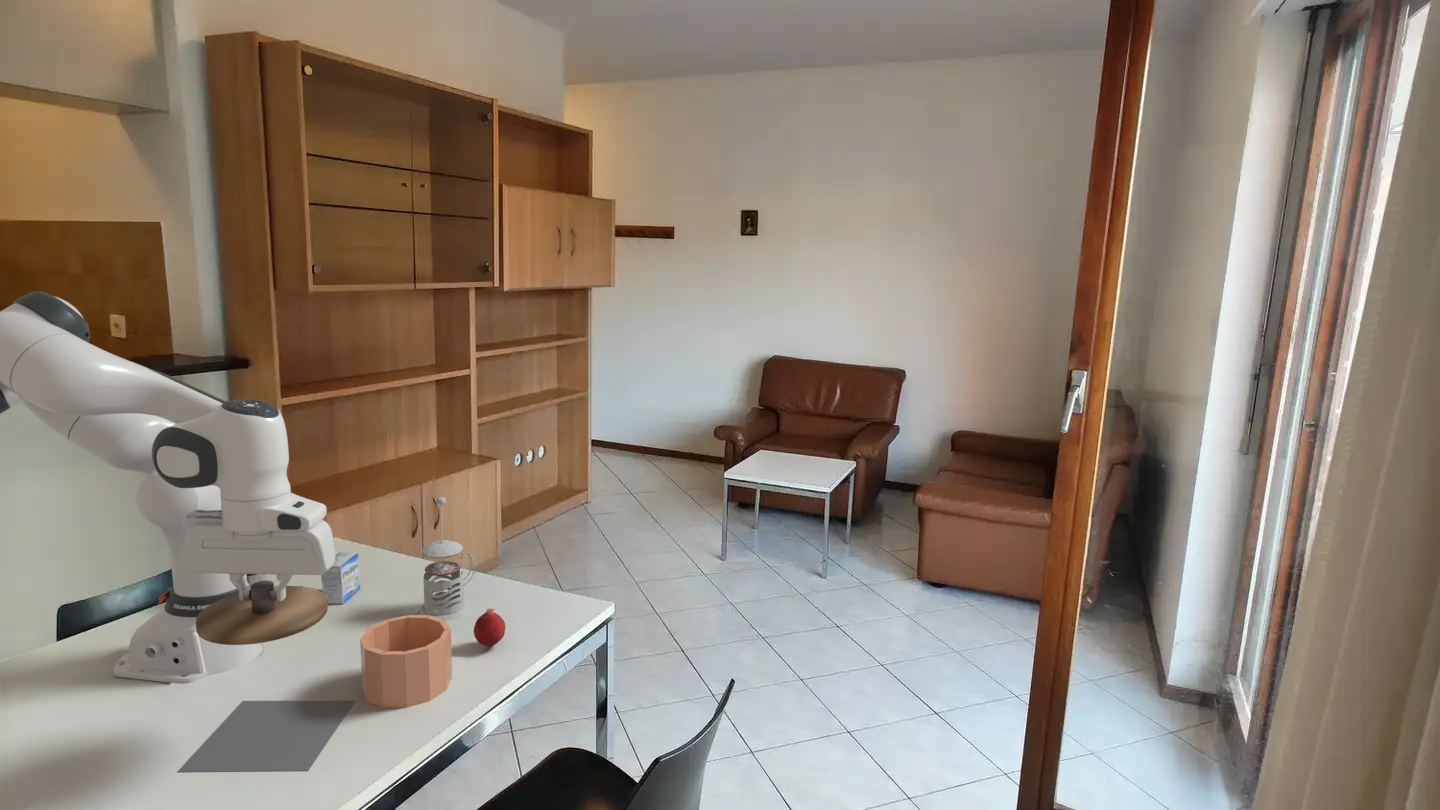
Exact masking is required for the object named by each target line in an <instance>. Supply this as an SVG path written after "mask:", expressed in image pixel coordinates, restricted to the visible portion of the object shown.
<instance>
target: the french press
mask: <svg viewBox="0 0 1440 810" xmlns="http://www.w3.org/2000/svg"><path fill="white" fill-rule="evenodd" d="M446 503H447V500H446V498H445V497H444V496H439V497H438V498H437V499H436V504H438V505H440V511H441V512H440V515H441V517H440V519H441V540H435V541H433V542H431V543H428V545H426V546H424V547H423V548H422V550H421V553H422V555H423V556H424V557H427V558H429V559H442V560H441V561H435V562H432V563H429V564H428V565H427V566H425V568H424V571H425V572H424V574H423V602H424V604H423V607H422V608H421V609H420V611H419V614H418V615H430V616H433V617H436V618H440V619H443V620H445V621H446V622H447V621H451V620H456V619H459V618H461V617H463V616H464V615H465V614H466V613H468V610H469V607H468V605H467V604H466V603H465V601H464V600H465V597H464V588H465V586H466V585H467V584H468V583H470V582H471V580H472V578H473V577H474V575H475V573H476V572H475V571H476V560H475V558H474V556H473V555H472V554H471V553H469V552H468V551H466V550H464V547H463V545H462V544H460V543H459V542H456V541H454V540H447V539H445V540H444V536H443V535H444V533H443V531H444V530H443V525H444V524H443V505H444V504H446ZM460 554H461V555H460ZM464 554H466V555H467V556H468V557H469V560H470V566H469V567H470V568H469V571H468V573H467V575H466V577H464V575H463V571H462V570H461V567H462V565H461V564H460V563H459V562H457V561H454V560H453V561H452V560H451V561H450V560H444V559H447V558H452V557H455V556H458V557H459V558H460V559H463V557H464ZM472 564H473V565H472ZM472 568H473V571H472ZM471 571H472V575H471V577H470V578H469V579H468V580H467V578H468V577H469V576H470V574H471ZM431 578H432V579H431ZM430 579H431V580H430ZM439 579H447V580H439ZM436 580H438V581H436ZM466 580H467V581H466ZM464 581H466V582H465V583H464ZM446 590H447V591H446ZM434 593H435V594H434Z"/></svg>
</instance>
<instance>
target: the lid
mask: <svg viewBox="0 0 1440 810" xmlns="http://www.w3.org/2000/svg"><path fill="white" fill-rule="evenodd" d="M275 586H276V585H275V583H274V581H272V580H266V581H259V582H255V583H253V584H252V585H251V586H250V587H251V601H240V599H239V593H237V594H234V595H231V596H228V597H225V598H223V599H221V600H218V601H216V602H214V603H213V604H211V605H209V606H208V607H206V608H205V609H204V610H202V611H201V612H200V613H199V615H198V616H197V618H196V631H197V634H198V635H199V636H200V637H201V638H202V639H204V640H206V641H209V642H212V643H217V644H224V645H248V644H257V643H261V644H262V643H267V642H274V641H278V640H280V639H284V638H288V637H290V636H291V637H292V636H294V635H296V634H299V633H302V632H304V631H306V630H307V629H309V628H311V627H313V626H315V625H316V624H318V623H319V622H320V621H322V619H324V617H325V616H326V614H327V612H328V608H329V607H328V604H327V598H326V596H325V595H324V594H323V592H321V591H319V590H317V589H315V588H311V587H307V586H299V585H298V586H297V585H287V586H286V597H285V599H284V600H282V601H271V600H270V598H271V596H270V590H272V589H274V587H275Z"/></svg>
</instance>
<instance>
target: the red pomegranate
mask: <svg viewBox="0 0 1440 810" xmlns="http://www.w3.org/2000/svg"><path fill="white" fill-rule="evenodd" d="M494 610H495V609H494V608H492V607H488V608H487V609H486V611H485V612H484V613H483V614H481V615H480V616H479V617H478V618H477V620H476V621H475V624H474V627H473V636H474V638H475V640H476V641H477V643H479V644H480V645H481V646H484V647H487V648H488V649H489V648H493V647H494V646H495V645H496V644H498V643H499V642H501V640H502V639H503V638H504V636H505V633H506V623H505V620H504V618H502V616H501V615H499V614H498V613H496V612H494Z"/></svg>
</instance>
